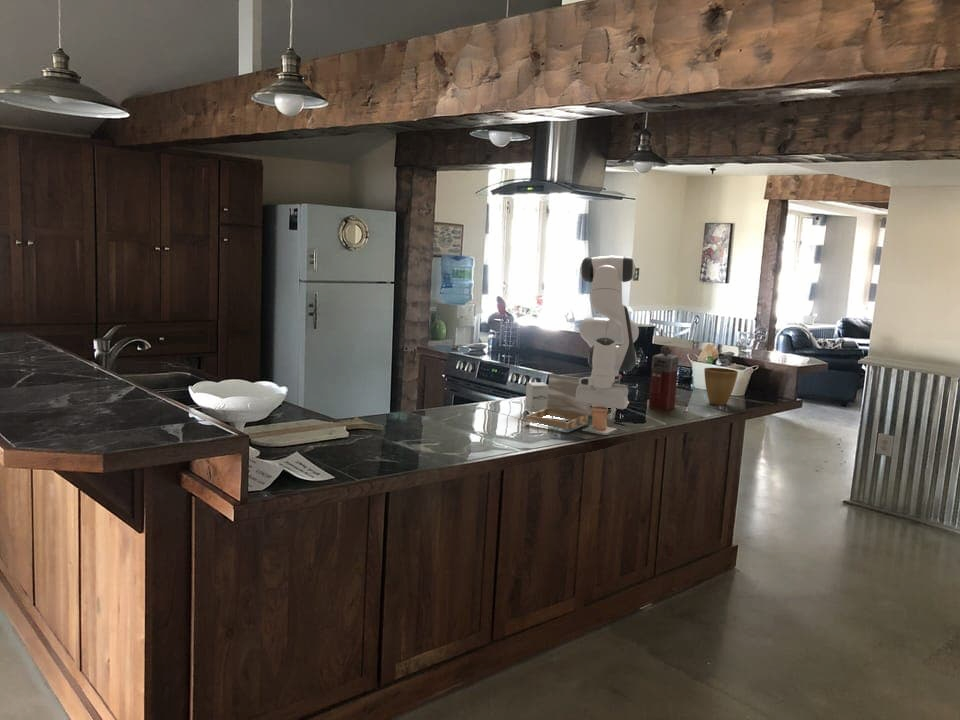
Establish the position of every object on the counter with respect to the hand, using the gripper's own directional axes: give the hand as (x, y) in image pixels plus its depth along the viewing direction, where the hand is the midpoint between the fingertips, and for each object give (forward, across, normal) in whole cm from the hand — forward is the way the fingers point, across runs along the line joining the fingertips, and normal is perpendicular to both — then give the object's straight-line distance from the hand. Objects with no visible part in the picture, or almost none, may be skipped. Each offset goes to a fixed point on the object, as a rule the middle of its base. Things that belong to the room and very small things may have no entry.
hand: (600, 417), depth 296 cm
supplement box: (+6, +33, -11) cm, 35 cm away
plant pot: (+6, -22, -88) cm, 91 cm away
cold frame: (+6, +17, +2) cm, 18 cm away
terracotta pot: (+4, 0, 0) cm, 4 cm away
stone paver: (+6, 0, 0) cm, 6 cm away
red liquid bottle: (+6, -4, -60) cm, 60 cm away
